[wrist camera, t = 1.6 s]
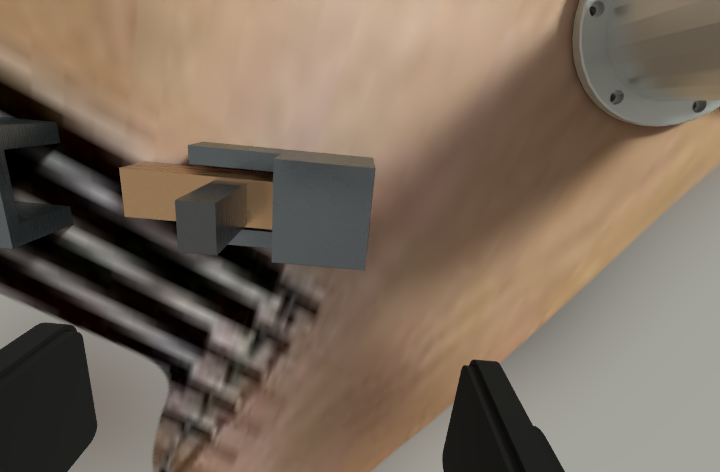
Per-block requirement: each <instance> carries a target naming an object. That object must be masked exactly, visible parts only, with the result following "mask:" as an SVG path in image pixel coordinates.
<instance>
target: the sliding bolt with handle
mask: <svg viewBox="0 0 720 472" xmlns="http://www.w3.org/2000/svg"><path fill="white" fill-rule="evenodd" d="M119 170H120V179H121V188H122V197H123V205H124V214H125V217H134V218H145V219H157V220H168V221H176V226H177V241H178V252H182V253H194V254H206V255H218V254H219V253H220V252H221V251H222V250H223V249H224V248H225V247H226V246H227V245H228V243H229V242H230V241H231V240H232V239H233V238H234V237H235V236H236V235H237V234H238V233H239V232H240V231H241V230H242V229H243V228H244V227H248V228H259V229H270V230H272V215H273V173H264V172H253V171H242V170H231V169H220V168H209V167H198V166H188V165H177V164H166V163H155V162H141V163H137V164H133V165H129V166H125V167H121V168H119Z"/></svg>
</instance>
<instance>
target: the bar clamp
mask: <svg viewBox="0 0 720 472" xmlns="http://www.w3.org/2000/svg"><path fill="white" fill-rule="evenodd" d="M56 143H60V139H59V133H58V127H57V122H48V121H37V120H27V119H16V118H6V117H0V248H9V249H14V248H16V247H18V246H21V245H23V244H26V243H28V242H31V241H33V240H36V239H38V238H41V237H43V236H46V235H48V234H51V233H53V232H55V231H58V230H60V229H63V228H65V227H68V226H70V225H73V220H72V214H71V208H70V206H61V205H49V204H38V203H27V202H15V201H14V196H13V191H12V186H11V182H10V177H9V172H8V167H7V162H6V158H5V153H4V150H5V149H13V148H22V147H30V146H39V145H48V144H56ZM188 155H189V164H195V165H206V166H217V167H227V168H238V169H249V170H260V171H271V172H273V215H272V230H270V229H259V228H248V227H244V228H243V229H242V230H241V231H240V232H239V233H238V234H237V235H236V236H235V237H234V238H233V239H232V240H231V241H230V242H229V243H228V245H238V246H250V247H261V248H272V262H273V263H285V264H297V265H308V266H320V267H332V268H344V269H355V270H365V262H366V253H367V243H368V234H369V224H370V215H371V205H372V196H373V186H374V177H375V165H374V161H373V158H368V157H357V156H347V155H336V154H326V153H315V152H304V151H294V150H283V149H272V148H262V147H251V146H240V145H230V144H219V143H209V142H200V143H196V144H191V145H188Z"/></svg>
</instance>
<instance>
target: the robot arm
mask: <svg viewBox="0 0 720 472" xmlns="http://www.w3.org/2000/svg"><path fill="white" fill-rule="evenodd" d="M590 9H591V10H592V14H590ZM572 43H573V59H574V63H575V67H576V71H577V75H578V77H579V79H580V82H581V84H582V86H583V88H584V90H585V92H586V93H587V94H588V96H589V97H590V98H591V99H592V101H593V102H594V103H595V104H596V105H597V106H598V107H599V108H600V109H602V110H603V111H604V112H606V113H607V114H608V115H610V116H612V117H614V118H616V119H618V120H621V121H623V122H626V123H631V124H635V125H640V126H668V125H677V124H681V123H684V122H688V121H691V120H695V119H697V118H699V117H701V116H703V115H706V114H708V113H710V112H712V111H714V110H715V109H717V108H718V107H720V0H579V4H578V7H577V11H576V14H575V19H574V27H573V36H572ZM610 96H611V100H610ZM96 430H97V420H96V414H95V409H94V402H93V396H92V390H91V385H90V378H89V372H88V366H87V360H86V354H85V348H84V342H83V337H82V335H81V334H80V333H78V332H77V330H76V328H75V327H74V326H72V325H67V324H55V323H40V324H38V325H36V326H35V327H33V328H32V329H30V330H29V331H27V332H26V333H24V334H23V335H21V336H20V337H18V338H17V339H15V340H14V341H12V342H11V343H9V344H8V345H7V346H5V347H3V348H2V349H0V472H67V471H68V470H69V469H70V468H71V466H72V465H73V464H74V463H75V461H76V460H77V459H78V458H79V456H80V455H81V454H82V453H83V451H84V450H85V449H86V448H87V447H88V445H89V444H90V443H91V441H92V440H93V438H94V436H95V433H96ZM443 469H444V472H565V471H564V469H563V468H562V466H561V464H560V462H559V460H558V459H557V457H556V455H555V453H554V451H553V450H552V448H551V446H550V444H549V442H548V441H547V439H546V437H545V436H544V434H543V433H542V432H541V430H540V429H539V428H537V427H536V426H533V425H532V423H531V421H530V419H529V417H528V416H527V414H526V412H525V410H524V408H523V406H522V404H521V403H520V401H519V399H518V397H517V396H516V393H515V391H514V390H513V388H512V386H511V384H510V382H509V380H508V378H507V377H506V375H505V373H504V371H503V369H502V367H501V365H500V364H499V363H498V362H495V361H483V360H472V361H471V362H470V365H469V366H466V365H464V366H463V367H462V370H461V374H460V378H459V383H458V387H457V392H456V396H455V401H454V405H453V410H452V414H451V418H450V423H449V428H448V432H447V436H446V441H445V445H444V450H443Z"/></svg>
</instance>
